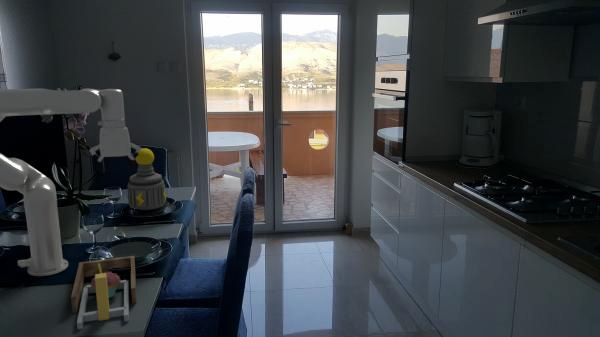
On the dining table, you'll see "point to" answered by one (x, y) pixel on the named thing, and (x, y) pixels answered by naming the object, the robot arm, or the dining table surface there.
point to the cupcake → (108, 282)
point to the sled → (102, 302)
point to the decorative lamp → (146, 184)
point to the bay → (92, 269)
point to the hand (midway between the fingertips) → (117, 171)
